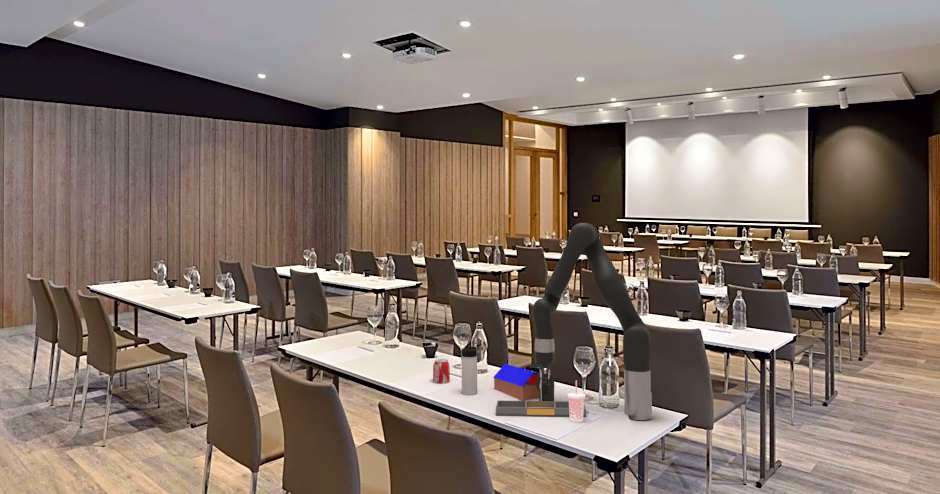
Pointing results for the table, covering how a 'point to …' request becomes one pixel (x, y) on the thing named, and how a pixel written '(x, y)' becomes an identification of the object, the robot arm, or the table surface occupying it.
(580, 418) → the beverage cup
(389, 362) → the table surface
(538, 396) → the house
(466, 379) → the travel mug
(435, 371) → the soda can
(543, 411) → the tray
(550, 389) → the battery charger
